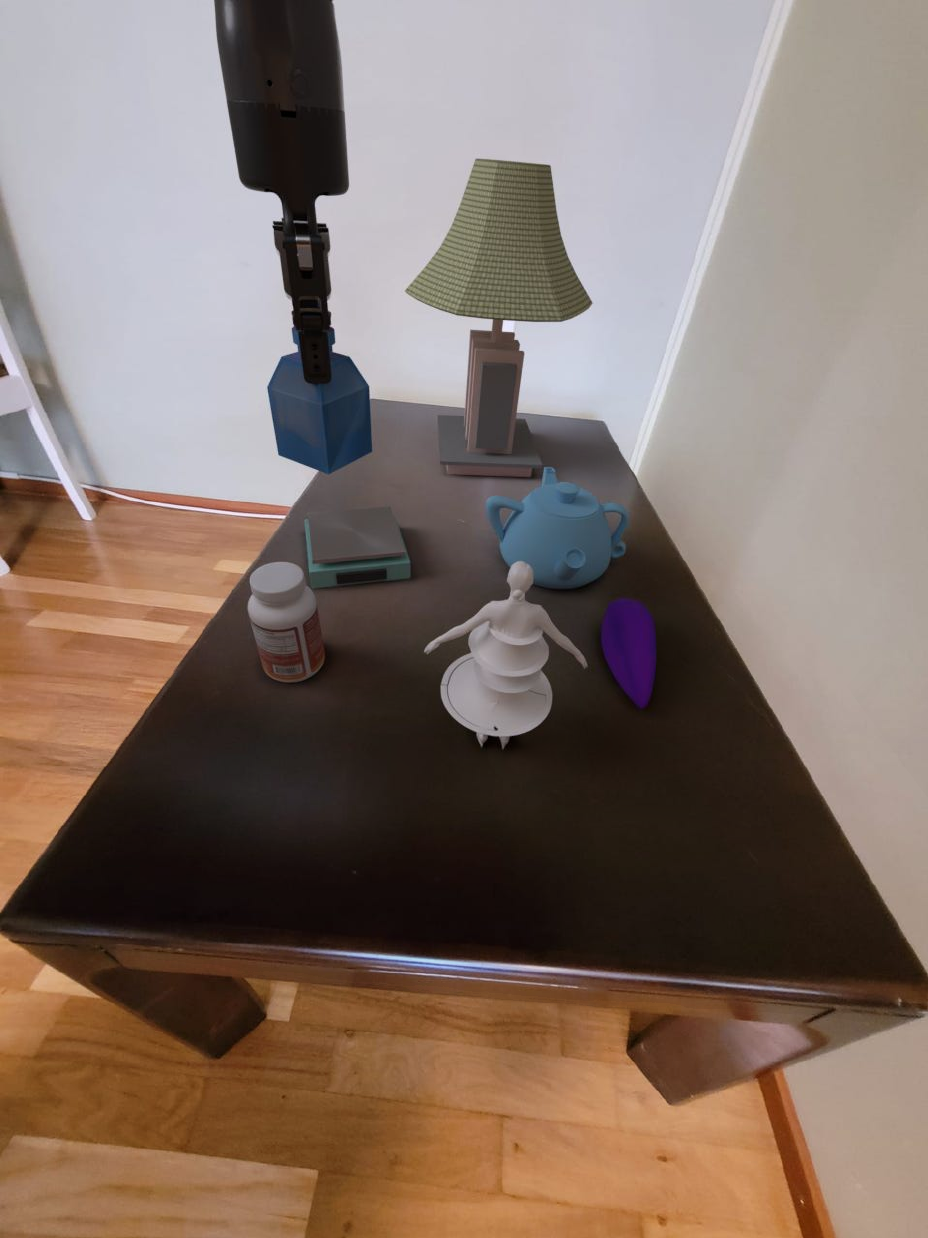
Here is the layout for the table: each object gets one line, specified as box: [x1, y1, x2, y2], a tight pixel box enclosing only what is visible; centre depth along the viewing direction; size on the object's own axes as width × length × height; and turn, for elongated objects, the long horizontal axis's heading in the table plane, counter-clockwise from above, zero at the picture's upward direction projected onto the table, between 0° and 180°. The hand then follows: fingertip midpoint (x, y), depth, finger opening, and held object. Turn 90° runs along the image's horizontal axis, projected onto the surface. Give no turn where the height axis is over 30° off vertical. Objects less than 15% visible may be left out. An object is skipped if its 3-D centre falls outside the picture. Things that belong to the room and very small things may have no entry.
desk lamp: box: [404, 158, 594, 478], centre depth 83 cm, size 26×28×40 cm
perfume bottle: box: [266, 308, 373, 475], centre depth 48 cm, size 6×6×12 cm
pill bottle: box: [247, 561, 326, 684], centre depth 52 cm, size 6×6×11 cm
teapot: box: [485, 466, 630, 590], centre depth 68 cm, size 15×17×11 cm
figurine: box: [423, 561, 588, 750], centre depth 44 cm, size 13×10×20 cm
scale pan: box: [306, 506, 406, 564], centre depth 68 cm, size 11×11×1 cm
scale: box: [304, 512, 411, 590], centre depth 69 cm, size 12×12×3 cm
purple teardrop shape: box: [600, 597, 657, 709], centre depth 57 cm, size 5×5×15 cm
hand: (316, 369), depth 46 cm, fingers closed on perfume bottle, 5 cm apart
